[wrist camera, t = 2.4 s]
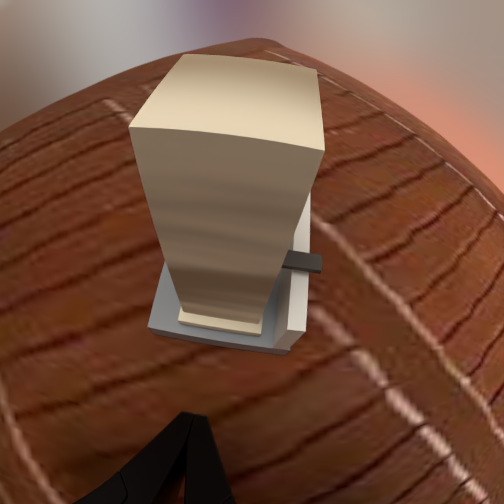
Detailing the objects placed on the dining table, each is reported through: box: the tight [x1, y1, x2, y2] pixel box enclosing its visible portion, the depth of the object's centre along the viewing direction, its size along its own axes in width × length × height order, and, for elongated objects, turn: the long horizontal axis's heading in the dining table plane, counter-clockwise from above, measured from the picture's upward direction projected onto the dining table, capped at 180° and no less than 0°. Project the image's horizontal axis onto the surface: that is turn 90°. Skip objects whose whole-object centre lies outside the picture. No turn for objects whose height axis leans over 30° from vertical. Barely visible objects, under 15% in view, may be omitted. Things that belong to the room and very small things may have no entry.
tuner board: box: [148, 193, 310, 355], centre depth 19 cm, size 17×8×6 cm, turn 173°
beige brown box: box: [129, 54, 325, 336], centre depth 12 cm, size 5×6×12 cm
